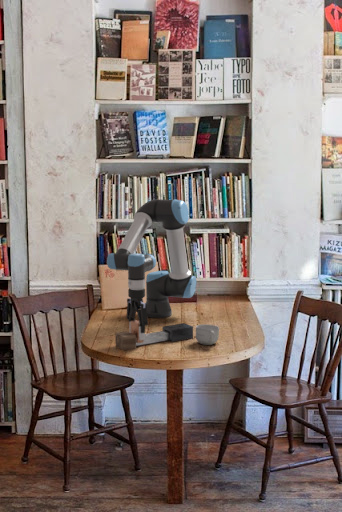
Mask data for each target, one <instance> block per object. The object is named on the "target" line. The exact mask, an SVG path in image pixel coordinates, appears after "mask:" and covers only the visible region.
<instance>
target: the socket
mask: <svg viewBox="0 0 342 512" xmlns="http://www.w3.org/2000/svg"><path fill="white" fill-rule="evenodd" d="M114 334H115V335H114V337H115V340H114V341H115V347H116V348H118V349H120V350H122V351H123V352H124V351H129V350H130V351H131V350H135V349H137V346H136V335H134V334H132V333H130V331H126V330H125V331H121V332H120V331H119V332H115V333H114Z"/></svg>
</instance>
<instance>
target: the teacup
mask: <svg viewBox="0 0 342 512" xmlns="http://www.w3.org/2000/svg"><path fill="white" fill-rule="evenodd" d="M219 334H220V327H219V326H218V325H214V324H204V323H203V324H202V323H201V324H198V325H196V326H195V340H196V341H197V342H198V343H199V344H200V345H204V346H210V345H211V346H213V345H214V344H216V342H218V341H219V336H220V335H219Z"/></svg>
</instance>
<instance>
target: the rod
mask: <svg viewBox="0 0 342 512" xmlns="http://www.w3.org/2000/svg"><path fill="white" fill-rule="evenodd" d="M138 325H140V323H139V319H138V320H137V319H135V320H134V321H131V333H132V334H134V335H136V347H138V346H142V345H148V344H149V345H150V344H155V343H159V342H166V341H170V332H169V331H167V330H166V331H156V332H150V333H145V340H139V326H138Z"/></svg>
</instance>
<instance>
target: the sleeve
mask: <svg viewBox="0 0 342 512" xmlns="http://www.w3.org/2000/svg"><path fill="white" fill-rule="evenodd" d="M161 330H162V331H166V330H167V331H169V332H170V340H169V342H170V343H174V342H179V341H185V340H190V339H193V338H194V332H193V331H194V326H192V325H191V324H190V325H189V324H188V323H184V322H183V323H177V324H175V323H174V324H169V325H165V326H162V329H161Z"/></svg>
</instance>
